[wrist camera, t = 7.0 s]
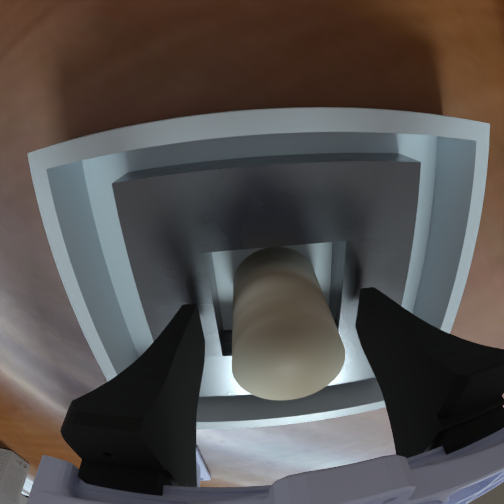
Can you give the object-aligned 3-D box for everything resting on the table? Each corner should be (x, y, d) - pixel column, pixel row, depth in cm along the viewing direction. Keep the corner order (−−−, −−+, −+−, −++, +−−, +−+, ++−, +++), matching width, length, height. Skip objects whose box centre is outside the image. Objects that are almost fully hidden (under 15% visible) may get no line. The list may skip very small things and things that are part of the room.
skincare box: (10, 449, 28) (-12, 511, 17) (32, 465, 30) (13, 526, 19) (-6, 446, 28) (-27, 502, 18) (14, 462, 30) (-5, 517, 19)
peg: (239, 320, 16) (240, 405, 11) (227, 252, 15) (222, 330, 10) (315, 310, 16) (341, 391, 11) (313, 241, 14) (348, 313, 10)
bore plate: (178, 371, 18) (174, 396, 16) (128, 171, 13) (111, 183, 11) (372, 353, 18) (383, 375, 16) (398, 153, 13) (420, 161, 11)
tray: (144, 384, 19) (134, 426, 16) (70, 139, 12) (27, 153, 9) (403, 359, 19) (422, 397, 16) (443, 114, 12) (489, 123, 9)
